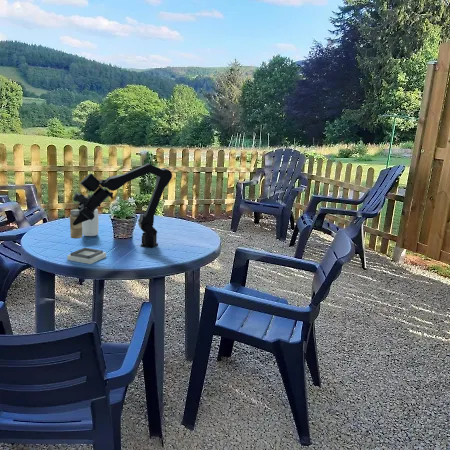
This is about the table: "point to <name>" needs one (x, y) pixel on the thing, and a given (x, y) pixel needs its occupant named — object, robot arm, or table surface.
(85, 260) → the stand
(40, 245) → the table surface
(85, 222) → the cup
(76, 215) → the pepper mill
